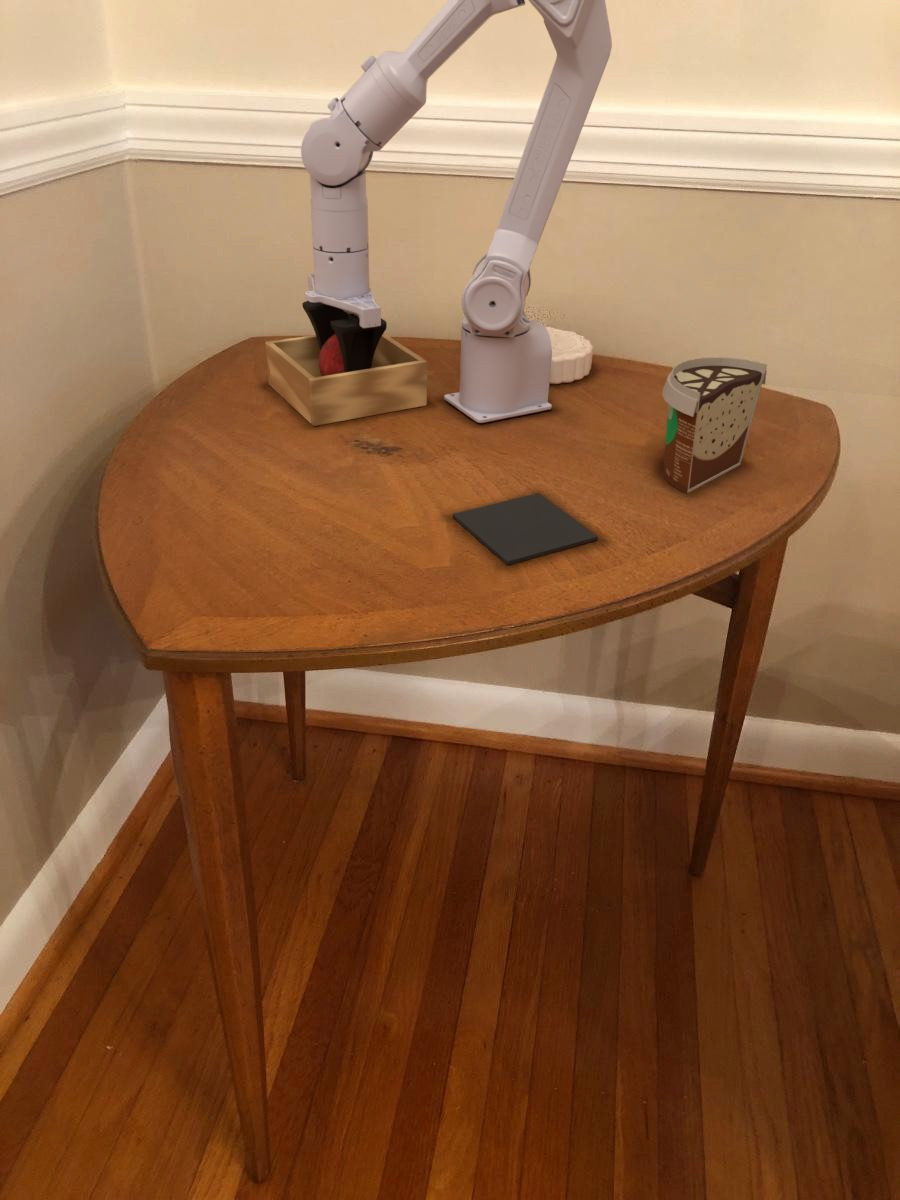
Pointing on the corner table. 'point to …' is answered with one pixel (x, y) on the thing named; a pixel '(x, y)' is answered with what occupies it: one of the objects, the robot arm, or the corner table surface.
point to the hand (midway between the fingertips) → (345, 374)
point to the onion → (331, 358)
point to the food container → (708, 417)
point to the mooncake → (569, 356)
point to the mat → (524, 528)
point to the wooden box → (346, 381)
